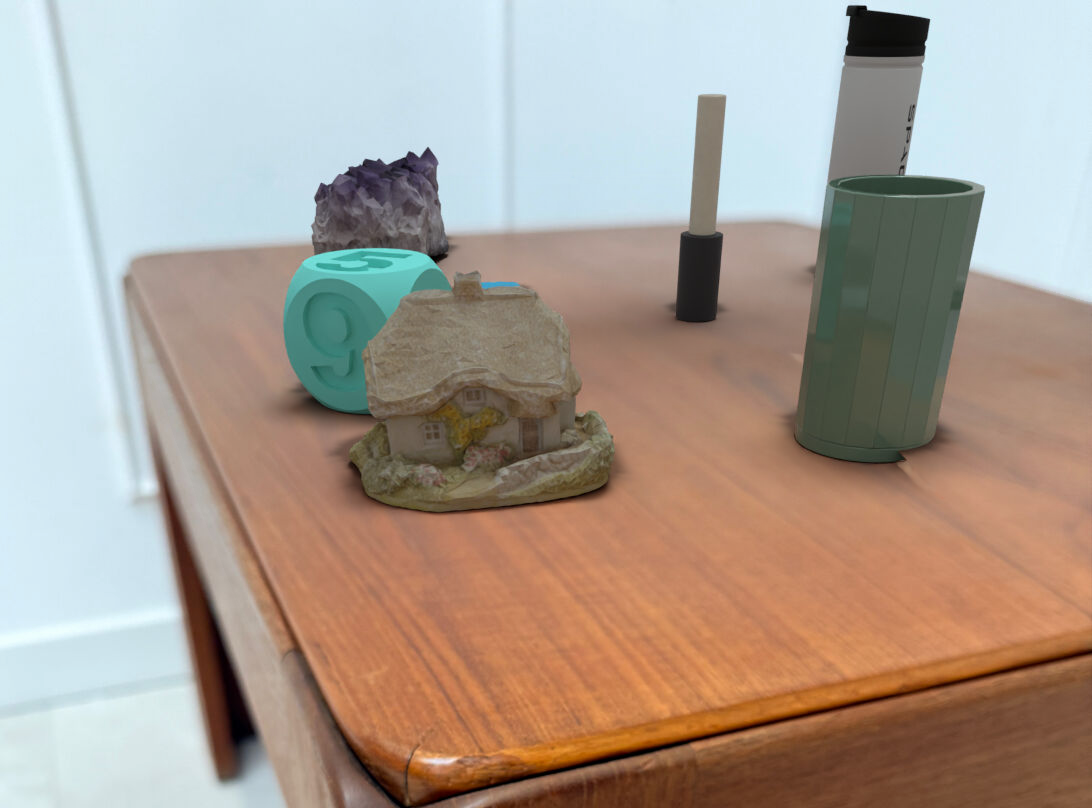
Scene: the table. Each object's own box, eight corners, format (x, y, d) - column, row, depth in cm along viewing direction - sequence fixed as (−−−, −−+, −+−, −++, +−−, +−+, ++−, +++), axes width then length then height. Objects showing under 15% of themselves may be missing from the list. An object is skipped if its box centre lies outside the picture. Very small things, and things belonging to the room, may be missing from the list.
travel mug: (800, 273, 98) (833, 4, 87) (868, 269, 99) (910, 3, 88) (827, 288, 93) (867, 5, 82) (899, 284, 94) (948, 4, 83)
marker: (711, 311, 87) (729, 92, 79) (720, 321, 85) (739, 96, 76) (672, 312, 87) (685, 93, 78) (679, 322, 84) (694, 97, 76)
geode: (354, 239, 114) (358, 131, 108) (462, 258, 113) (472, 149, 108) (290, 272, 97) (292, 145, 91) (417, 294, 96) (426, 167, 91)
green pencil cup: (904, 416, 66) (950, 173, 58) (953, 460, 59) (1011, 195, 52) (779, 420, 65) (809, 176, 58) (815, 465, 59) (854, 198, 51)
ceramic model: (339, 516, 54) (314, 302, 48) (353, 440, 63) (334, 252, 57) (622, 506, 54) (631, 294, 49) (596, 432, 64) (601, 246, 58)
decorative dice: (461, 384, 72) (456, 252, 67) (405, 421, 66) (394, 279, 61) (355, 371, 74) (342, 244, 70) (291, 406, 68) (272, 269, 63)
